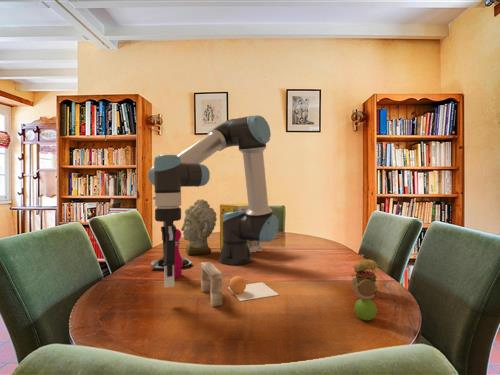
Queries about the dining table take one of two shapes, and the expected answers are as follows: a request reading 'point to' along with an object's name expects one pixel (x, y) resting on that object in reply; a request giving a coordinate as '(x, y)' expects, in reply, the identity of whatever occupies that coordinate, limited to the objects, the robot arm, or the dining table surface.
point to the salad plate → (158, 263)
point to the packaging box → (228, 208)
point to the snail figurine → (364, 299)
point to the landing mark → (255, 292)
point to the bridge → (211, 282)
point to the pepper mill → (177, 256)
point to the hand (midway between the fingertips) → (169, 286)
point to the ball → (237, 284)
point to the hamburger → (364, 274)
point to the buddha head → (198, 227)
